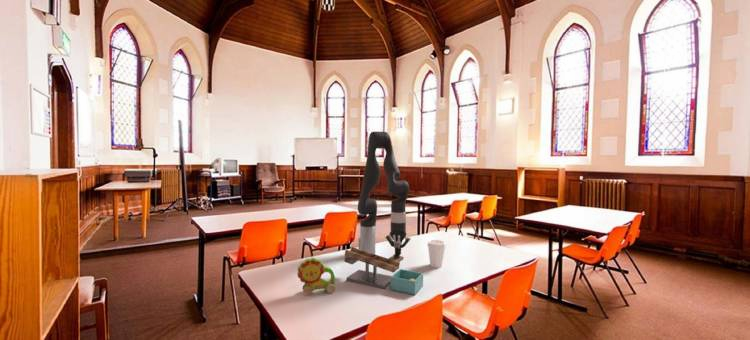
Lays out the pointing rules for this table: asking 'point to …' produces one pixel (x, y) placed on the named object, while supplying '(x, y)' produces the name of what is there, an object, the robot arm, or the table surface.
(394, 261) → the lever
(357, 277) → the stand
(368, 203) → the robot arm
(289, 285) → the table surface
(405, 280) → the teal storage bin
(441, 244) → the foam cup
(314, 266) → the toy lion
